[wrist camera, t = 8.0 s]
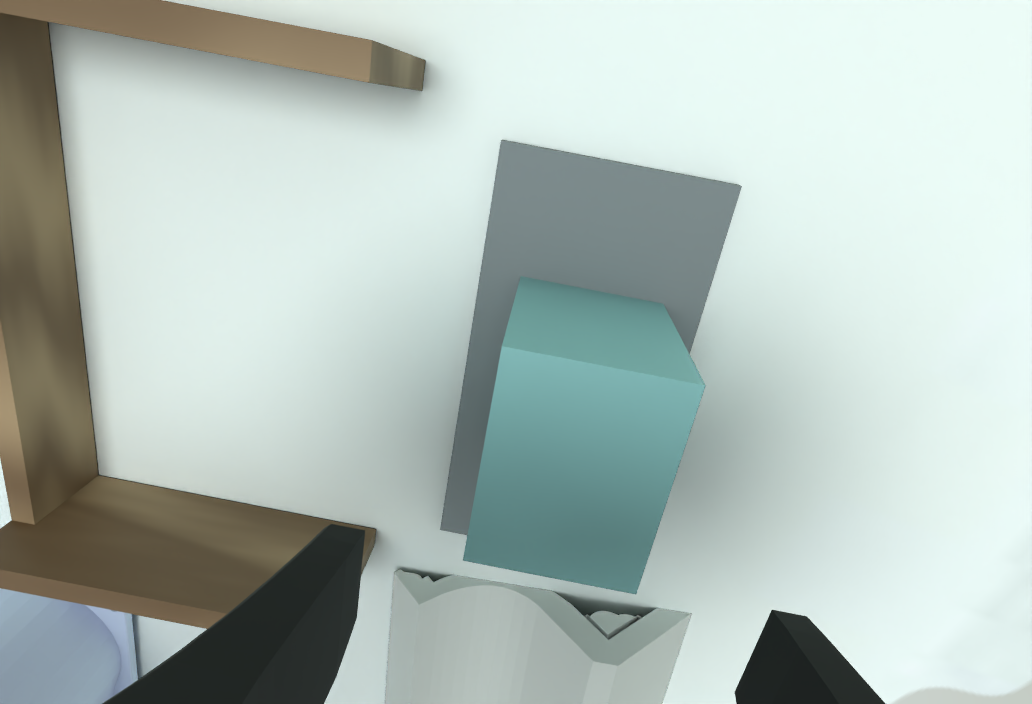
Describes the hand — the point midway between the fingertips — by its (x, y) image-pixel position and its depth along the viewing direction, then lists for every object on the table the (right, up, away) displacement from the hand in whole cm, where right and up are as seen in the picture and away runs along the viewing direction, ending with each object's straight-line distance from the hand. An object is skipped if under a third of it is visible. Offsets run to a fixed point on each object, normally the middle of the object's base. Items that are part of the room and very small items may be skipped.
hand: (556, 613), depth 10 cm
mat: (+1, +4, +10) cm, 10 cm away
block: (+1, +4, +9) cm, 10 cm away
